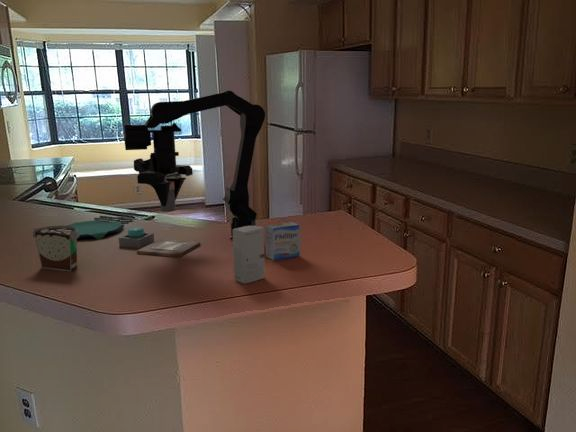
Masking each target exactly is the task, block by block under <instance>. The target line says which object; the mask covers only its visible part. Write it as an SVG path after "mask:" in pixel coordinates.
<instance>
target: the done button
mask: <svg viewBox="0 0 576 432" xmlns="http://www.w3.org/2000/svg"><path fill="white" fill-rule="evenodd" d="M144 232H145V228H143V227H132V228H129V229H127V234H128V237H129V238H141V237H143V236H144Z"/></svg>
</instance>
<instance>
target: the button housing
mask: <svg viewBox="0 0 576 432" xmlns="http://www.w3.org/2000/svg"><path fill="white" fill-rule="evenodd" d="M154 242H155V235H154V232H145V231H144V236H143V237H141V238H129V237H128V233H126V234H124V235H122V236H120V237H118V244H119V247H122V248H133V249H134V248H135V249H136V248H137V249H141V248H143V247H145V246H147V245H150V244H152V243H154Z"/></svg>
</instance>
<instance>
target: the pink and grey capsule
mask: <svg viewBox="0 0 576 432" xmlns="http://www.w3.org/2000/svg"><path fill="white" fill-rule="evenodd" d="M166 182H170V188H169V193H168V199H167V203H166V206H162V205H161V204H160V211H161V212H162V213H163V212H164V213H171V212H175V211H177V209H176V200H175V192H174V189H175V186H174V181H166Z"/></svg>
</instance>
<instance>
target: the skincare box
mask: <svg viewBox="0 0 576 432" xmlns="http://www.w3.org/2000/svg"><path fill="white" fill-rule="evenodd" d="M232 231H233V236H232V237H233V240H232V254H233V255H232V256H233V274H234V277H233V278H234V280H235V281H236V282H239V283H241V284H244V285H245V284H249V283H250V284H251V283H252V282H257V281H260V280H262V279H265V277H266V275H265V274H266V273H265V267H266V266H265V236H264V227H262V226H257V225H256V226H254V225H250V226H244V227H240V228H235V229H233V230H232Z"/></svg>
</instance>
